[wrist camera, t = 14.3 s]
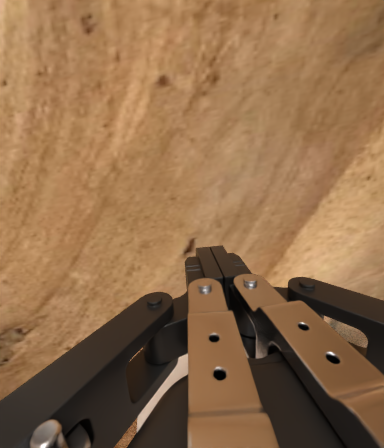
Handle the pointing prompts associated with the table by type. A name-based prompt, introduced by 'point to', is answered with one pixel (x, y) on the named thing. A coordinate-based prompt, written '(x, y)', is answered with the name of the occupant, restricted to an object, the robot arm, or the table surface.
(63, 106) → the table surface
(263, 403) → the robot arm
